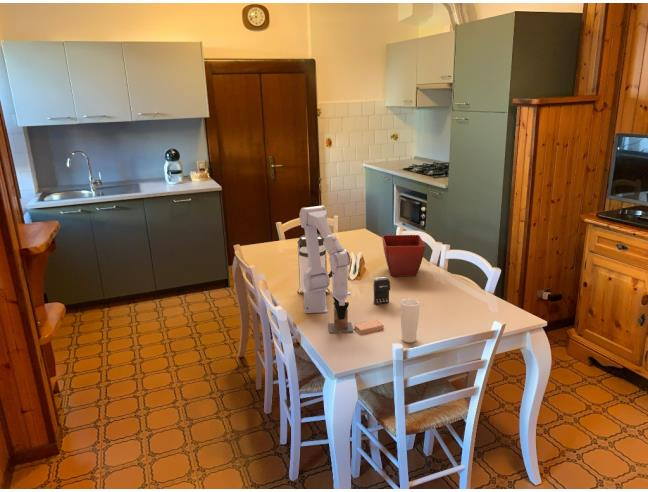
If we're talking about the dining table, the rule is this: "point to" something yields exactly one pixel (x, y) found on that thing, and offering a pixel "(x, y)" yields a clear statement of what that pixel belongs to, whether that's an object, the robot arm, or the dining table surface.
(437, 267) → the dining table surface
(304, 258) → the coffee press
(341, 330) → the mat
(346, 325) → the brown rectangular block
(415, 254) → the plant pot
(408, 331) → the drinking glass
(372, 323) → the tile
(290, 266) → the dining table surface
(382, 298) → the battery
